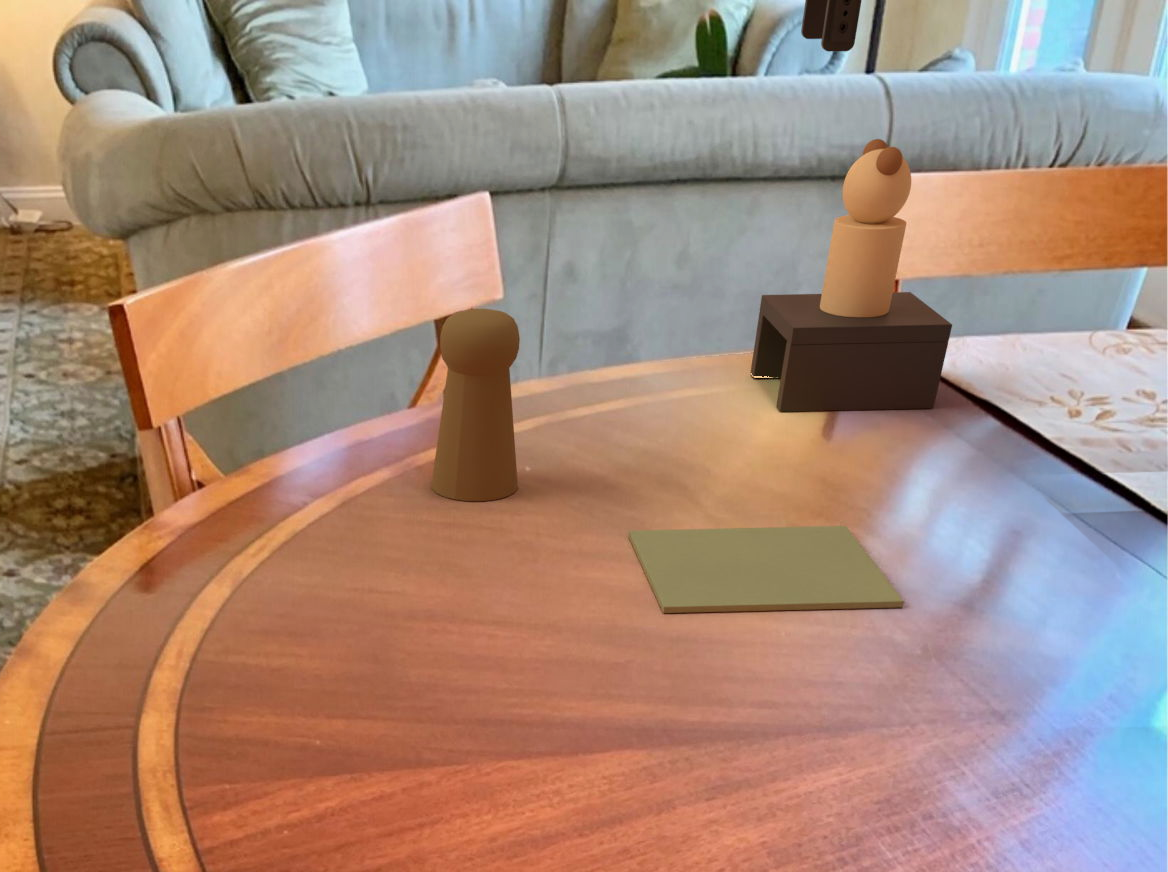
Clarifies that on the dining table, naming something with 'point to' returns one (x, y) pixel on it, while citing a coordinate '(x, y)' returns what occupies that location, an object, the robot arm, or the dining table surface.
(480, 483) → the brown pepper mill
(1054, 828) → the dining table surface
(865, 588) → the mat
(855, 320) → the brown u-shaped bridge
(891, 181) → the toy bear
